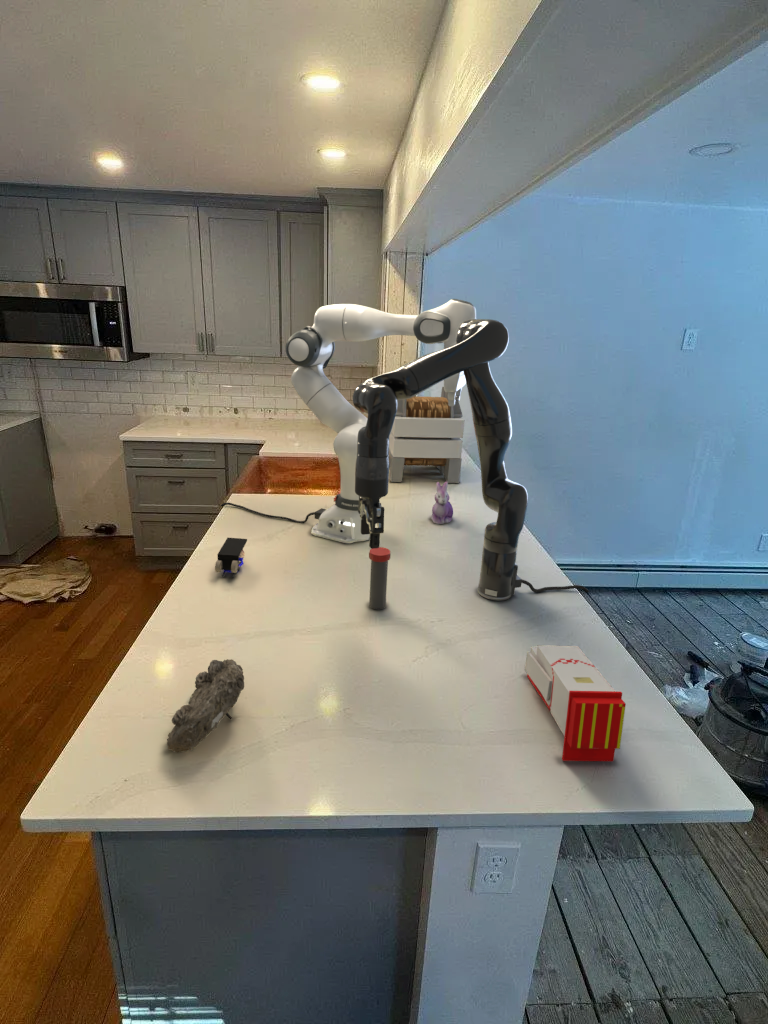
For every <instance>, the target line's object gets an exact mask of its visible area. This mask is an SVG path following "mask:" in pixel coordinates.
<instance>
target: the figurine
mask: <svg viewBox="0 0 768 1024" xmlns="http://www.w3.org/2000/svg"><path fill="white" fill-rule="evenodd" d="M448 486H449V483H448V482H447V481H446V480H445V481H444V483H443V484H442V485H441V484H440V482H439V481H437V482H435V487H436V492H435V493H434V494H435V495H434V501H435V503H434V504H433V506H432V509H431V513H432V514H431V517H430V519H431V520H432V522H433V523H434V524H439V525H443V524H448V523H450V522H452V520H453V516H454V507H453V505H452V504H451V502H450V501H449V500H450V494H449V492H448Z"/></svg>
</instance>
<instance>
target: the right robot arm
mask: <svg viewBox="0 0 768 1024" xmlns="http://www.w3.org/2000/svg"><path fill="white" fill-rule="evenodd" d="M509 335H510V334H509V330H508V328H507V327H506V325H505V324H504V323H503V322H502V321H499V320H496V319H492V318H491V319H490V318H476V319H469V320H466V321H464V322H463V323H462V324H461V325H460V327H459V329H458V331H457V337H456V345H454V346H451V347H449V348H446V349H444V348H443V349H440V350H436V351H433V352H429V353H427V354H424V355H421V356H419V357H417V358H414V359H412V360H410V361H408V362H407V363H405V364H403V365H401V366H399V367H398V368H396V369H394V370H392V371H388V372H384V373H382V374H379V375H376V376H373V377H369V378H368V379H365V380H363V381H362V382H361V383H360V384H359V385H357V386H356V388H355V389H354V392H353V393H352V405H353V407H355V408H356V409H357V410H358V411H359V412H361V413H362V414H363V415H364V414H365V415H367V418H368V419H367V424H366V426H365V427H362V428H361V429H360V430H359V432H358V437H357V458H356V466H355V493H356V494H357V495H358V496H359V506H358V513H359V514H360V519H361V534H362V535H365V534H370V539H369V541H368V543H369V545H368V546H369V548H370V549H373V548H379V547H380V545H381V544H380V543H381V539H380V538H381V534H384V532H385V507H384V506H382V503H381V501H380V499H381V498H385V497H386V496H387V495H388V494H389V481H390V478H389V475H390V467H389V436H390V433H391V430H392V427H393V423H394V420H395V416H396V412H397V400H398V399H409V398H412V397H414V396H415V397H417V395H419V394H421V393H423V392H424V391H426V390H428V389H430V388H431V387H433V386H435V385H437V384H439V383H441V382H442V381H443V382H444V380H445V379H447V378H449V377H451V376H453V375H455V374H457V373H460V372H462V371H463V372H464V376H465V379H466V384H465V385H466V388H467V394H468V398H469V399H468V400H469V403H470V410H471V417H472V423H473V428H474V434H475V435H474V436H475V439H476V444H477V451H478V458H479V464H480V476H481V494H482V499H483V502H484V504H485V506H486V507H487V508H489V509H490V510H492V511H494V512H496V513H497V518H496V521H493V522H489V523H488V524H486V526H485V528H484V535H483V544H482V553H481V561H480V572H479V578H478V579H479V580H478V587H477V592H478V595H480V596H481V597H483V598H484V599H487V600H491V601H497V602H499V601H500V602H501V601H506V600H509V599H511V598H512V597H515V591H516V589H517V588H519V589H520V588H522V584H523V585H526V586H527V587H528V588H529V589H530V590H531V591H532V592H533V593H537V594H538V593H543V592H545V591H565V590H573V589H574V588H575V589H578V590H581V591H583V592H585V593H590V590H589V589H588V588H587V587H586V586H583V585H579V584H573V586H572V585H565V586H545V587H541V588H535V587H534V586H533V585H532V583H531V582H529V581H527V580H526V579H522V578H521V577H520V576H519V575H518V570H519V565H518V564H517V554H518V546H519V540H520V539H519V538H520V534H521V532H522V531H523V529H524V525H525V521H526V520H525V519H526V515H527V510H528V504H529V503H528V502H529V494H528V491H527V488H526V487H525V486H524V485H522V484H520V483H518V482H515V481H513V480H511V479H509V478H508V475H507V471H506V465H505V457H506V453H507V450H508V448H509V446H510V443H511V440H512V436H513V426H512V417H511V412H510V407H509V404H508V402H507V400H506V399H505V397H504V395H503V393H502V392H501V390H500V388H499V387H498V385H497V384H496V381H495V380H494V377H493V375H492V372H491V368H490V363H489V362H492V361H495V360H497V359H499V358H500V357H501V356H502V355H504V353H505V352H506V350H507V348H508V345H509V342H510V341H509V340H510V336H509ZM371 518H372V519H371ZM376 526H377V527H376Z"/></svg>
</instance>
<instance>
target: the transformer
mask: <svg viewBox="0 0 768 1024" xmlns="http://www.w3.org/2000/svg"><path fill="white" fill-rule="evenodd" d="M440 393H441V394H440V396H417V395H416V396H414V397H412V398H409V399H398V400H397V412H396V416H395V420H394V423H393V427H392V430H391V433H390V436H389V481H390V482H391V483H402V482H403V475H404V469H405V466H406V467H407V466H411V467H412V466H413V467H415V466H416V467H417V466H418V467H436V468H437V470H438V469H439V473H440V474H441V475H443V478H444V479H445V482H446V481H447V482H448V484H455V483H456V484H459V483H461V472H462V461H463V460H462V453H463V442H464V441H463V440H462V439H463V438H464V431H465V430H464V429H465V419H464V418H463V411H462V408H461V405H460V401H458V402H455V405H454V406H449V405H448V401H449V400H448V392H445V390H444V386H442V387H441V392H440Z"/></svg>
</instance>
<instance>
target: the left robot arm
mask: <svg viewBox="0 0 768 1024" xmlns="http://www.w3.org/2000/svg"><path fill="white" fill-rule="evenodd" d="M469 319H477V309H476V306H475V305H474V304H473V303H472V302H470V301H467V300H463V299H458V298H451V299H450V300H448V301H447V302H445V303H444V304H441V305H439V306H437V307H435V308H431V309H427V310H424V311H422V312H421V313H419V314H399V313H391V312H386V311H383V310H380V309H377V308H374V307H370V306H366V305H361V304H355V303H335V304H327V305H322V306H320V307H318V308H317V309H316V311H315V313H314V317H313V325H312V326H310V325H306V326H305V327H303V328H301V329H299V330H298V331H295V333H293V334H292V335H291V336H290V337H289V338H288V339H287V340H286V344H285V354H286V357H287V359H289V361H290V362H292V364H294V365H296V366H297V367H295V369H294V370H293V371H292V373H291V375H290V380H291V381H290V383H291V384H292V386H293V388H294V390H295V391H296V393H297V395H298V396H299V397H300V399H301V400H302V401H303V403H304V404H305V405H306V407H307V408H308V409H309V410H310V411H311V412H312V413H313V415H314V416H315V417H316V418H317V419H318V420H319V422H320V423H321V424H323V425H324V426H326V427H328V428H330V429H331V430H332V431H334V432H335V433H336V436H335V438H334V439H333V443H332V446H333V448H332V449H333V451H334V454H335V455H336V457H337V462H338V466H339V473H340V488H339V489H340V490H339V491H338V492H337V494H336V495H335V496H334V497H333V502H334V504H333V505H331V506H329V507H328V508H319V509H318V510H316V511H313V512H310V513H308V514H307V515H306V516H305V519H304V520H296V519H293V518H290V517H286V516H279V515H273V514H272V515H271V514H266V513H263V512H259V511H257V510H254V509H251V508H248V507H246V506H243V505H240V504H236V503H232V502H223V503H222V504H220V507H225V506H231V507H235V508H239V509H242V510H245V511H247V512H249V513H253V514H256V515H259V516H262V517H265V518H266V517H267V518H270V519H279V520H285V521H290V522H293V523H297V524H306V523H307V522H308V521H309V518H310V517H311V516H313V515H314V517H313V518H314V519H315V520H318V521H317V523H315V524H314V525H313V526H312V528H311V530H310V533H311V536H315V537H319V538H323V539H326V540H330V541H336V542H339V543H343V544H352V543H357V542H365V541H368V540H370V534H365V535H362V534H361V519H360V514H359V513H358V506H359V496H358V495H357V494H356V493H355V466H356V458H357V437H358V432H359V430H360V429H361V428H362V427H365V426H366V424H367V419H368V417H366V415H364V413H362V412H360V411H358V410H357V409H356V408H355V406H354V405H353V404H352V403H350V402H349V400H347V399H346V398H345V397H344V396H343V394H342V393H341V392H340V391H339V389H338V388H337V387H336V386H335V385H334V384H333V382H332V381H331V380H330V379H329V378H328V377H327V376H326V374H325V372H324V369H326V368H327V366H328V365H329V362H330V360H331V359H332V357H333V356H334V352H335V350H336V343H335V342H353V343H356V342H366V341H371V340H376V339H378V338H384V337H388V336H409V337H415V338H416V339H417V340H418V341H420V343H423V344H426V345H434V344H435V345H436V344H443V349H446V348H449V347H451V346H454V345H456V337H457V331H458V329H459V327H460V325H461V324H462V323H463V322H464V321H466V320H469ZM466 385H467V384H466V379H465V376H464V372H463V371H462V372H460V373H457V374H455V375H453V376H451V377H449V378H447V379H445V380H443V387H444V390H445V392H448V400H449V401H448V405H449V406H454V405H455V402H460V400H461V393H462V390H463V388H464V387H465V386H466ZM371 519H372V518H371Z"/></svg>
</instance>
